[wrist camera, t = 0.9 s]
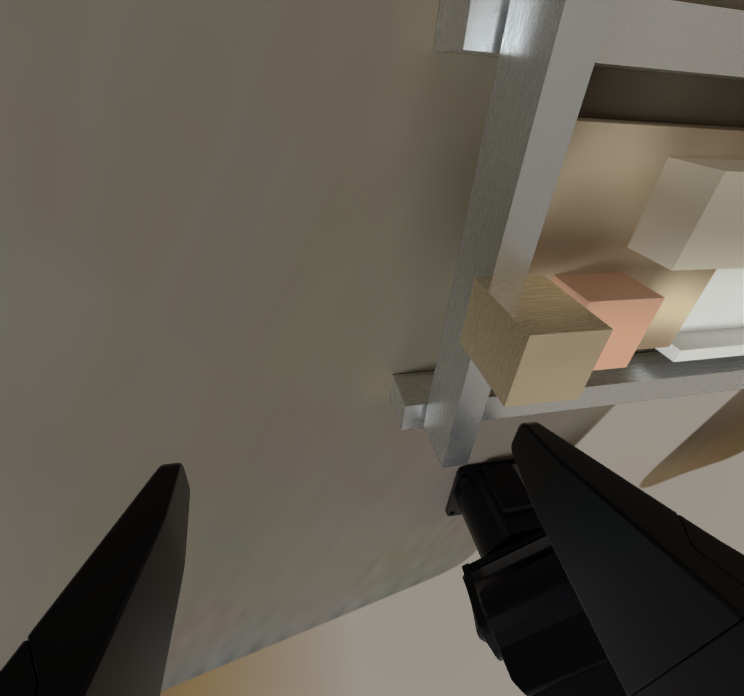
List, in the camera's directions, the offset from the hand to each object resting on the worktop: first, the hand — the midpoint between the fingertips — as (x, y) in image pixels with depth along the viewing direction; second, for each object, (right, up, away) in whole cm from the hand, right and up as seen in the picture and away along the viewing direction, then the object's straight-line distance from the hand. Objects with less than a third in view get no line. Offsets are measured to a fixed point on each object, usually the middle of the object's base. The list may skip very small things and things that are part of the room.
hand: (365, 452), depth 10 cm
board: (+13, +9, +14) cm, 21 cm away
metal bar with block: (+5, +6, +9) cm, 12 cm away
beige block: (+16, +10, +11) cm, 22 cm away
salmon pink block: (+12, +5, +14) cm, 19 cm away
